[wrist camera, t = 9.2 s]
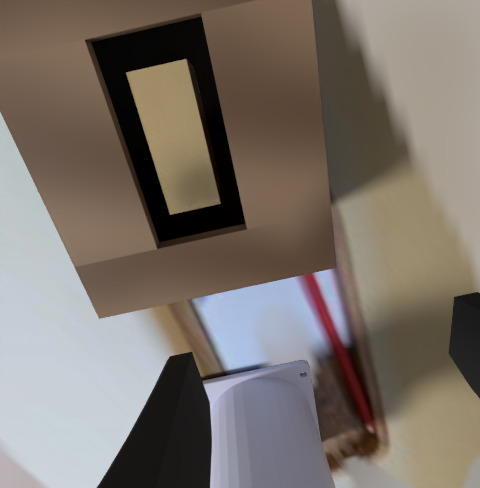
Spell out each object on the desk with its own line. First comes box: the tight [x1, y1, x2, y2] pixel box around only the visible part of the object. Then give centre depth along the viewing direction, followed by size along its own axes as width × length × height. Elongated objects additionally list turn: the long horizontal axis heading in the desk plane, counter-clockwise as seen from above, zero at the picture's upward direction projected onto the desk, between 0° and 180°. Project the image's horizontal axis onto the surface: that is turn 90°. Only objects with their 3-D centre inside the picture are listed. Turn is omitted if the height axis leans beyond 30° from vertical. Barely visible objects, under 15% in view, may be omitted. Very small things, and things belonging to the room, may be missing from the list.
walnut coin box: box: [0, 0, 337, 319], centre depth 14 cm, size 12×10×6 cm
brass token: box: [126, 59, 221, 215], centre depth 14 cm, size 5×2×5 cm, turn 11°
